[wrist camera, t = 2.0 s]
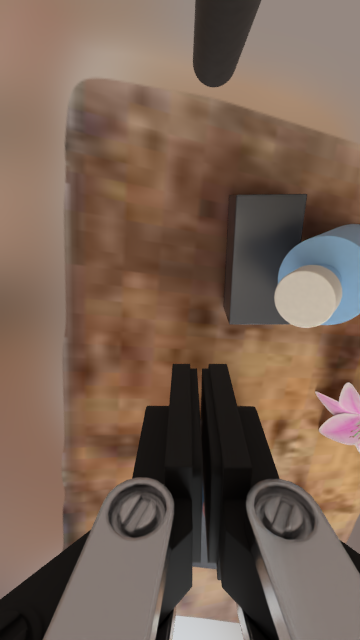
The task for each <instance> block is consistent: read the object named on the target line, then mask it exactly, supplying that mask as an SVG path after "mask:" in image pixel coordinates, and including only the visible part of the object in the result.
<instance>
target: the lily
mask: <svg viewBox="0 0 360 640" xmlns="http://www.w3.org/2000/svg"><path fill="white" fill-rule="evenodd" d="M315 393H316V395H317V397H318V398H319V400H320V401H321V402H322V404H323V405H324V406H325V407H326V408H327V409H328V410H329V411H330V412H331V413H332V414H333V415H334V416H332V417H331V418H329V419H328V420H327V421H326V422H324V423H323V424H322V425H321V427H320V428H319V432H320V433H321V434H322V435H324V436H326V437H328V438H330V439H332V440H334V441H337V442H339V443H343V444H346V445H355V446H356V448H357V450H358V451H359V453H360V395H359V394H358V392H357V391H356V389H355V388H354V387H353V385H352V384H350V383H346V384H345V385H344V387H343V389H342V391H341V394H340V397H339V402H338V401H336V400H334V399H332V398H330V397H328V396H325V395H323V394H321V393H319V392H317V391H315Z"/></svg>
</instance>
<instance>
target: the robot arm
mask: <svg viewBox="0 0 360 640" xmlns="http://www.w3.org/2000/svg"><path fill="white" fill-rule="evenodd" d="M202 493H204V510H205V527H206V543H207V559H208V563H216V567H217V579H218V580H221V583H222V588H223V589H224V590H225V591H226V592H227V593H228V594H229V595H230V596H231V597H232V598H233V600H234V601H235V602H236V604H237V613H238V617H239V621H240V626H241V630H242V634H243V638H244V640H360V554H359V553H357V552H356V551H354V550H353V549H352V548H350V547H349V546H347V545H346V544H345V543H343V542H342V541H340V540H339V539H338V537H337V535H336V534H335V532H334V530H333V529H332V527H331V525H330V524H329V522H328V520H327V519H326V517H325V515H324V514H323V512H322V510H321V509H320V507H319V505H318V504H317V503H316V501H315V500H314V499H313V498H312V496H311V495H310V494H309V493H307V492H306V491H305V490H304V489H302V488H301V487H299V486H297V485H295V484H294V483H292V482H289V481H285V480H281V479H279V476H278V473H277V470H276V467H275V464H274V461H273V458H272V455H271V452H270V449H269V446H268V443H267V440H266V437H265V434H264V431H263V428H262V425H261V422H260V419H259V416H258V413H257V411H256V408H255V407H251V406H237V404H236V400H235V396H234V392H233V388H232V384H231V380H230V375H229V371H228V367H227V364H209V368H208V369H202V396H201V425H200V410H199V394H198V378H197V369H190V364H173V368H172V380H171V392H170V404H169V406H147V407H146V411H145V416H144V421H143V426H142V431H141V436H140V441H139V447H138V452H137V457H136V462H135V467H134V472H133V477H132V479H130V480H126V481H125V482H123V483H121V484H119V485H117V486H116V487H115V488H114V489H113V490H112V491H111V492H110V493H109V494H108V496H107V497H106V499H105V500H104V502H103V504H102V506H101V508H100V511H99V513H98V515H97V518H96V520H95V522H94V524H93V527H92V529H91V530H90V531H89V532H87V533H86V534H85V535H83V536H82V537H81V538H80V539H78V540H77V541H76V542H74V543H73V544H72V545H70V546H69V547H68V548H67V549H65V550H64V551H63V552H61V553H60V554H59V555H58V556H56V557H55V558H54V559H52V560H51V561H50V562H49V563H47V564H46V565H45V566H43V567H42V568H41V569H39V570H38V571H37V572H36V573H34V574H33V575H32V576H30V577H29V578H28V579H26V580H25V581H24V582H22V583H21V584H20V585H19V586H17V587H16V588H15V589H13V590H12V591H11V592H9V594H7V595H6V596H4V597H3V598H2V599H0V640H172V637H173V630H174V623H175V616H176V605H177V604H178V603H179V601H180V600H181V599H182V598H183V597H184V596H185V594H186V593H187V592H188V591H189V590H190V588H191V587H192V563H201V532H202Z"/></svg>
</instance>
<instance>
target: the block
mask: <svg viewBox="0 0 360 640" xmlns="http://www.w3.org/2000/svg"><path fill="white" fill-rule="evenodd" d="M306 199H307V194H253V195H229V208H228V229H227V250H226V271H225V292H224V310H225V313H226V316H227V319H228V321H229V324H290V323H289V322H287V321H286V320H285V319H284V318H282V316H281V315H280V314H279V312H278V310H277V308H276V306H275V300H274V295H275V290H276V287H277V285H278V273H279V269H280V266H281V264H282V262H283V260H284V258H285V257H286V255H287V254H288V253H289V252H290V251H291V250H292V249H293V248H294V247H295V246H296V245H298V244H299V243H301V236H302V229H303V221H304V214H305V207H306Z"/></svg>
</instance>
